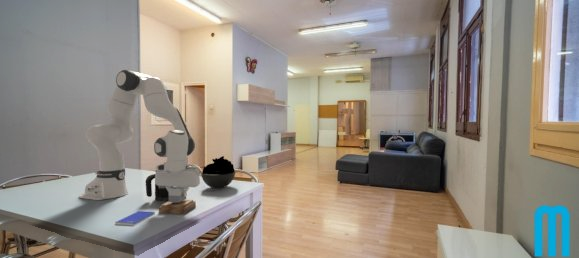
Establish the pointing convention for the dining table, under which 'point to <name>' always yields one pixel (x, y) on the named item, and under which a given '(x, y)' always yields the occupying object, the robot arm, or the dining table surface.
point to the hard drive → (135, 218)
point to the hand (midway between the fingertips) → (177, 195)
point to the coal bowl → (218, 173)
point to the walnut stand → (177, 207)
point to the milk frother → (156, 189)
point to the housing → (176, 194)
